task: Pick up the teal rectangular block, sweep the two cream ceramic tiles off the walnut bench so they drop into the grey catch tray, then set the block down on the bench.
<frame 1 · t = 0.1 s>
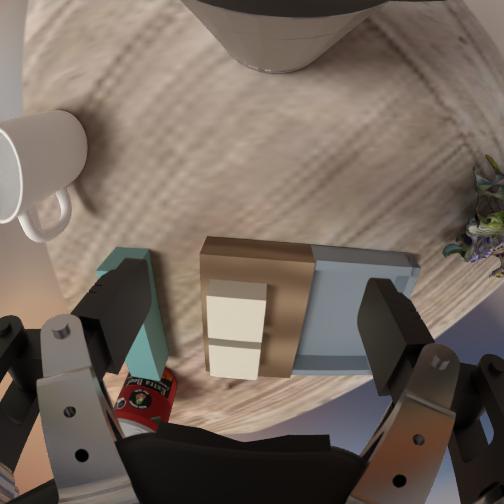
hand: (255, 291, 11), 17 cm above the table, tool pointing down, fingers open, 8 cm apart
tile b: (236, 346, 31), point 3 cm above the table, touching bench
cup: (66, 162, 26), on the table
tile a: (237, 303, 28), point 3 cm above the table, touching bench
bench: (253, 305, 33), on the table
teal rectangular block: (144, 306, 34), on the table
canned food: (154, 375, 41), on the table
catch tray: (346, 311, 32), on the table
passion flower: (474, 200, 25), on the table
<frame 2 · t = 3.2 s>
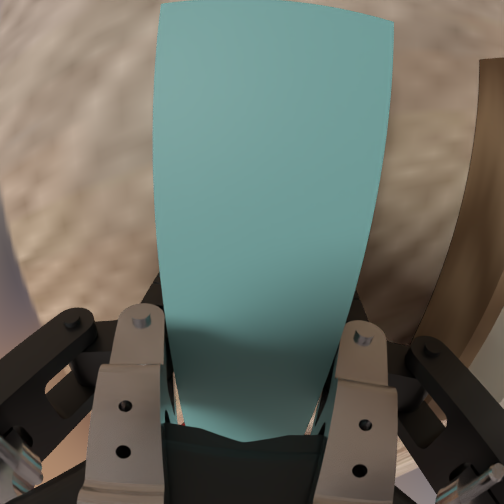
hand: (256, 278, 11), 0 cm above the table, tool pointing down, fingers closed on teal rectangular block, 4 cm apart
teal rectangular block: (257, 272, 12), on the table, touching gripper
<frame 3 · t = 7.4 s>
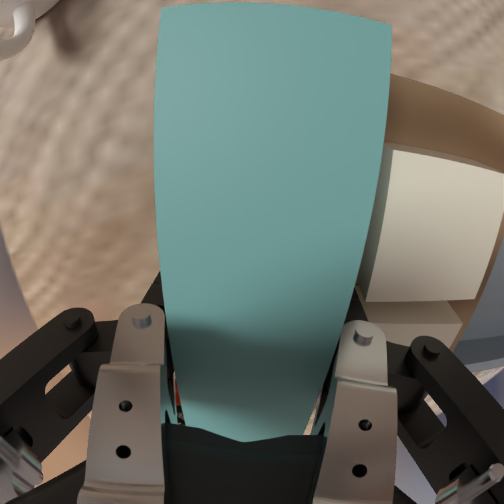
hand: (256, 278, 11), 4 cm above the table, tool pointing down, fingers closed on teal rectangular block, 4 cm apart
tile b: (380, 331, 13), point 4 cm above the table, touching gripper
tile a: (416, 211, 10), point 4 cm above the table, touching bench, gripper
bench: (388, 242, 15), on the table
teal rectangular block: (257, 272, 12), point 4 cm above the table, touching gripper
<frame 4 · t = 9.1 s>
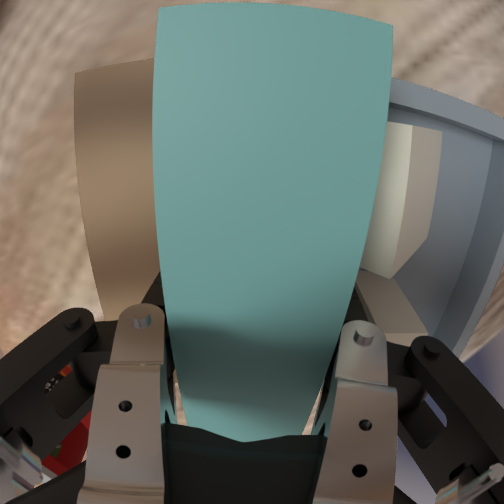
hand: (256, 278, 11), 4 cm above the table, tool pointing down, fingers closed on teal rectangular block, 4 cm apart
tile b: (347, 337, 14), point 3 cm above the table, tilted 92°
tile a: (366, 179, 11), point 2 cm above the table, tilted 47°, touching catch tray
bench: (208, 229, 15), on the table
teal rectangular block: (257, 270, 12), point 4 cm above the table, touching gripper
canned food: (74, 378, 23), on the table
catch tray: (403, 244, 15), on the table
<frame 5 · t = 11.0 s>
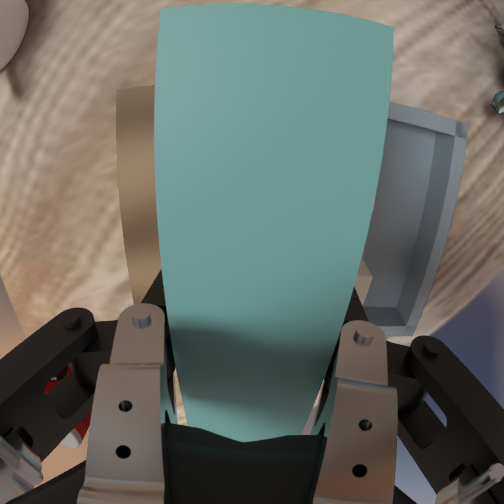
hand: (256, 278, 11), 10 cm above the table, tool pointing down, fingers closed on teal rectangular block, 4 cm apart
tile b: (314, 286, 19), point 3 cm above the table, tilted 90°, touching catch tray
cup: (5, 49, 14), on the table
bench: (210, 206, 20), on the table
teal rectangular block: (257, 270, 12), point 9 cm above the table, touching gripper
canned food: (89, 347, 28), on the table
catch tray: (362, 218, 20), on the table
when the fingers open (5 cm above the table, at t = 13.8 s): teal rectangular block stays where it is, resting on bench.
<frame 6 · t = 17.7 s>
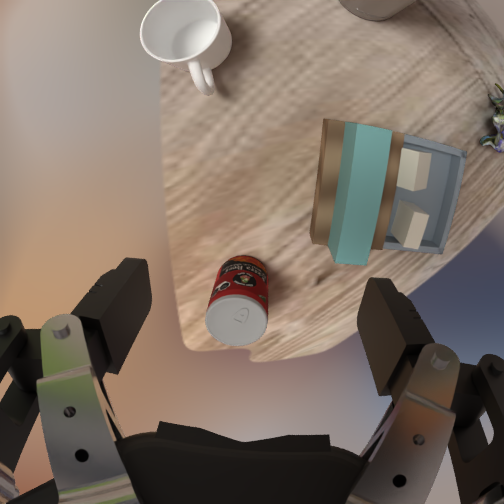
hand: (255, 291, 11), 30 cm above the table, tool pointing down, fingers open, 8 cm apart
tile b: (401, 222, 37), point 3 cm above the table, tilted 90°, touching catch tray
cup: (204, 56, 32), on the table
tile a: (406, 166, 34), point 2 cm above the table, tilted 40°, touching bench, catch tray
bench: (352, 182, 38), on the table
teal rectangular block: (352, 187, 35), point 3 cm above the table, touching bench
canned food: (242, 276, 46), on the table
catch tray: (418, 192, 38), on the table
passion flower: (492, 117, 31), on the table
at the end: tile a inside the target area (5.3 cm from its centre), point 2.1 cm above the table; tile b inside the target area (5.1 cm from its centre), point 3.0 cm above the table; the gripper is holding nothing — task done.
